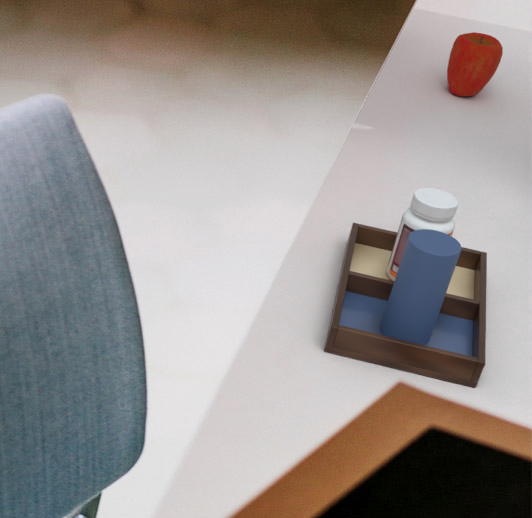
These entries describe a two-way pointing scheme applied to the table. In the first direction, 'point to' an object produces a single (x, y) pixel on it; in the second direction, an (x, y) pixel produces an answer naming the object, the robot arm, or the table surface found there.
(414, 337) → the blue cylinder
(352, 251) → the sorting tray
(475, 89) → the apple
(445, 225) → the pill bottle
